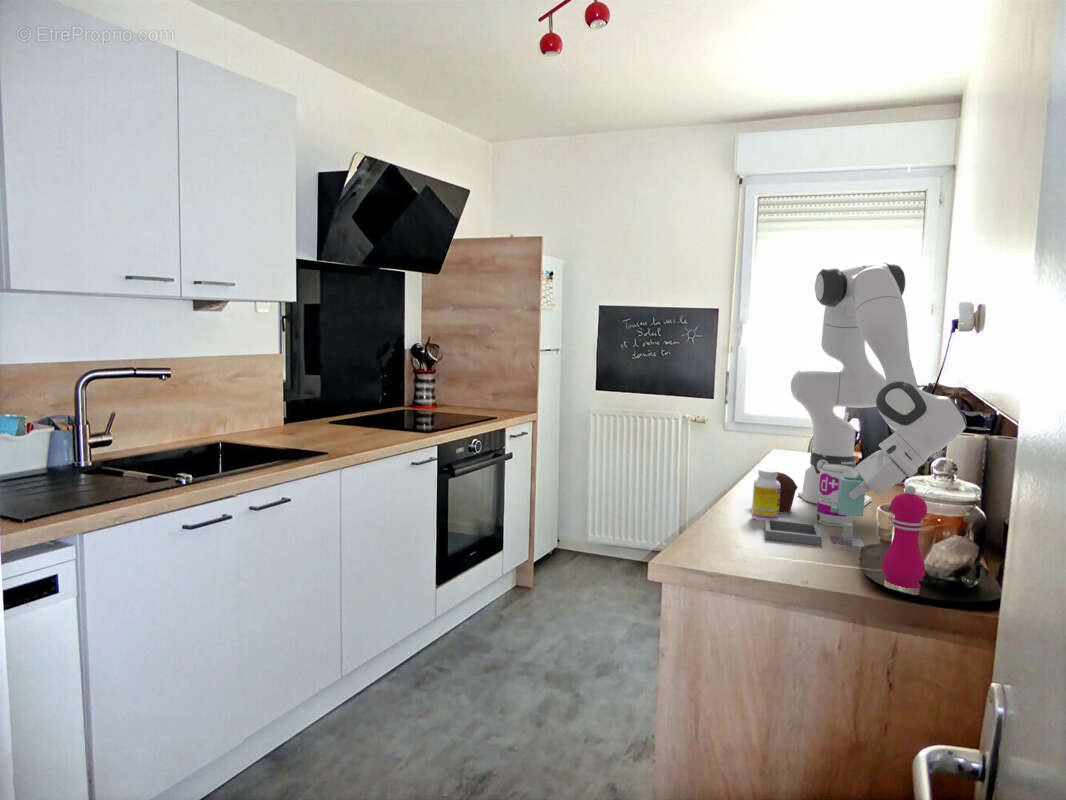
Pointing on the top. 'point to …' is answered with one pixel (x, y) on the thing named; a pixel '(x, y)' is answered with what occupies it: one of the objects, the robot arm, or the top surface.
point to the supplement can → (831, 494)
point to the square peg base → (847, 537)
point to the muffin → (786, 492)
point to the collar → (845, 501)
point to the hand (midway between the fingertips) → (848, 493)
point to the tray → (792, 532)
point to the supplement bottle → (766, 496)
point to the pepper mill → (905, 541)
